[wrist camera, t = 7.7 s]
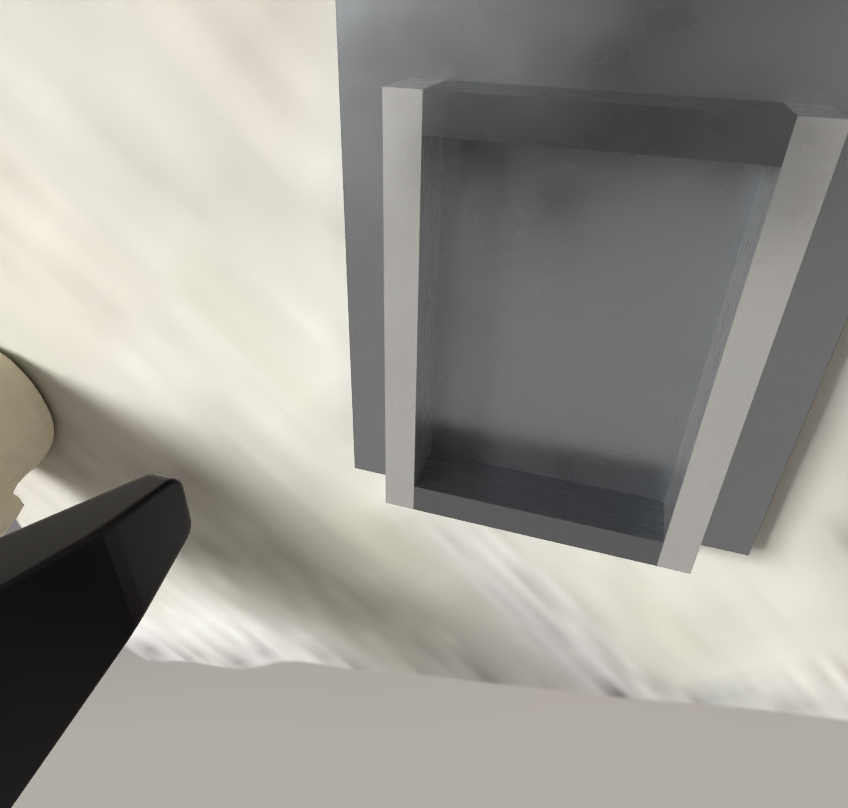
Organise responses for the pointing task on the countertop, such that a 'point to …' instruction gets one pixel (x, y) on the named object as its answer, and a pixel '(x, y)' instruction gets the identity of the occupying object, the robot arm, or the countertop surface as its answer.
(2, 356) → the vase
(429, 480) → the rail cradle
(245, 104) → the countertop surface
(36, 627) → the robot arm
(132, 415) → the countertop surface
